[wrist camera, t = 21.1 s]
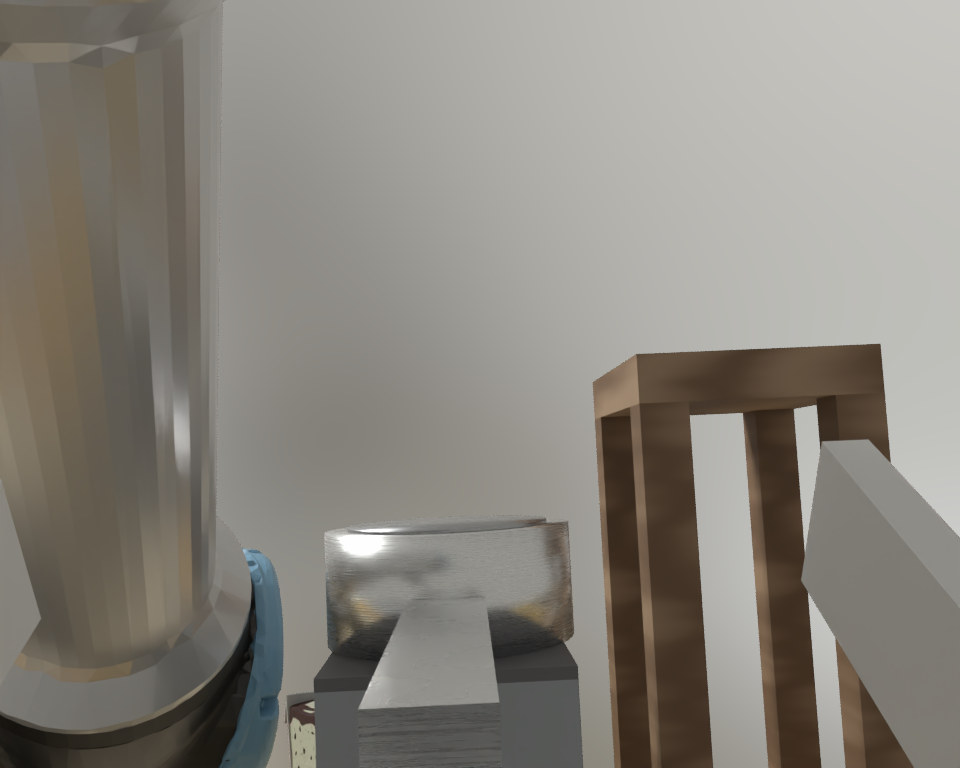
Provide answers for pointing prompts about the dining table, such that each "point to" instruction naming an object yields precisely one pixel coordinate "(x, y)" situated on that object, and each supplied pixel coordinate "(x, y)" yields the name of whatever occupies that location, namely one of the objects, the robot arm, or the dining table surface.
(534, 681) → the gray rectangular block
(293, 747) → the food container
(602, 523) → the tall stand
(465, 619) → the silver saucepan
